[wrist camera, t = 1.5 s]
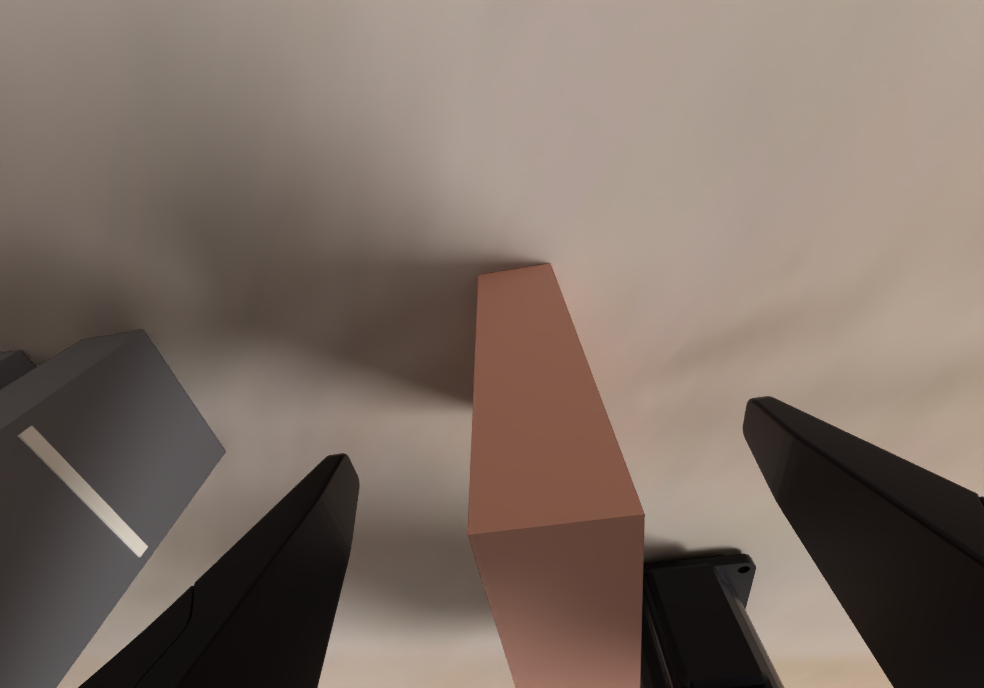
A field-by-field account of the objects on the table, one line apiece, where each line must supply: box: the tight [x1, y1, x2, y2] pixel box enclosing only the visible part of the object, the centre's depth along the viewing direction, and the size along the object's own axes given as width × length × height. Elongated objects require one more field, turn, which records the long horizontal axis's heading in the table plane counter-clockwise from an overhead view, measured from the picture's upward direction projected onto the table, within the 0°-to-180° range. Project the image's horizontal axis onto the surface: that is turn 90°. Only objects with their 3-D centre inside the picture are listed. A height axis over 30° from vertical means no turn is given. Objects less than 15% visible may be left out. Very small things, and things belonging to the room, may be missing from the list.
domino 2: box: [0, 330, 226, 688], centre depth 10 cm, size 5×2×8 cm, turn 10°
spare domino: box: [468, 263, 645, 688], centre depth 9 cm, size 5×2×8 cm, turn 9°
